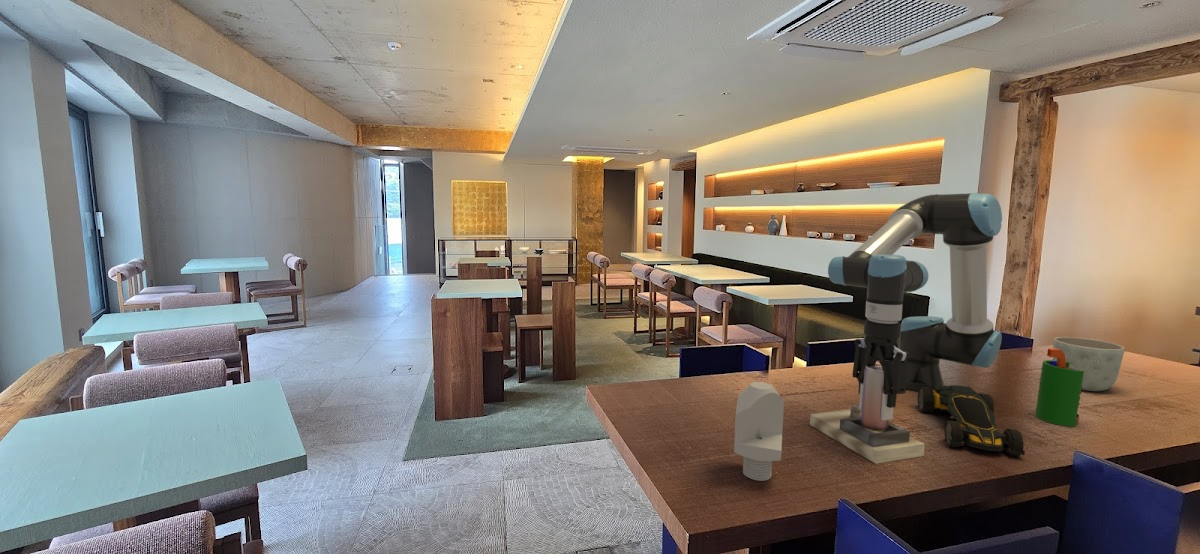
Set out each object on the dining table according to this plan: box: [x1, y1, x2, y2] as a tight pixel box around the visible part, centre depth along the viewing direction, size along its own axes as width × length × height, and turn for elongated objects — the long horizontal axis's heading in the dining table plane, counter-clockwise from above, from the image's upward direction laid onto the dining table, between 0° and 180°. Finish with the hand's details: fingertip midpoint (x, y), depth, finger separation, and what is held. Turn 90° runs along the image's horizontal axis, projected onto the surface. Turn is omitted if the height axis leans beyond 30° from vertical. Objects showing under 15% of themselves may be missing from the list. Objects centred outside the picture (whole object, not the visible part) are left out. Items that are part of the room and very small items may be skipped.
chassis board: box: [809, 404, 926, 465], centre depth 125 cm, size 22×14×6 cm, turn 16°
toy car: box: [917, 384, 1026, 457], centre depth 131 cm, size 16×32×10 cm, turn 159°
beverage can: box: [860, 363, 892, 432], centre depth 120 cm, size 6×6×15 cm
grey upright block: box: [733, 381, 785, 482], centre depth 107 cm, size 9×9×20 cm
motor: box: [1034, 347, 1084, 428], centre depth 138 cm, size 10×9×20 cm
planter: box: [1052, 336, 1126, 392], centre depth 166 cm, size 17×17×15 cm
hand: (875, 413), depth 120 cm, fingers closed on beverage can, 6 cm apart
